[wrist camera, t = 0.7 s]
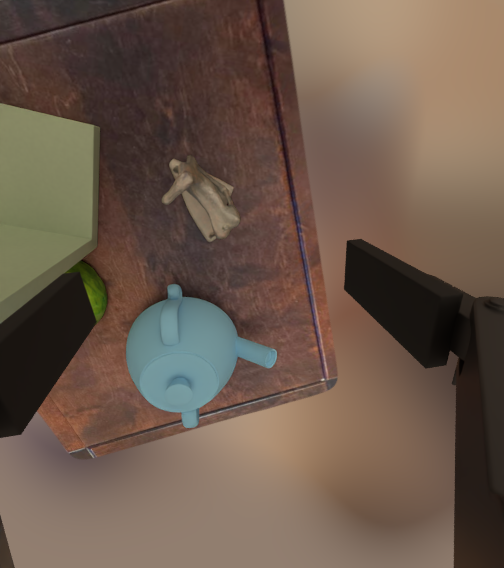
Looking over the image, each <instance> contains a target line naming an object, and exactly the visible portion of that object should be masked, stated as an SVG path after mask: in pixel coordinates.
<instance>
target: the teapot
mask: <svg viewBox="0 0 504 568" xmlns="http://www.w3.org/2000/svg"><path fill="white" fill-rule="evenodd" d="M167 290H168V299H166V300H163V301H160V302H158V303H156V304H154V305H152V306H150V307H149V308H147V309H146V310H144V311H143V312H142V313H141V314H140V315H139V316H138V317H137V318H136V320H135V321H134V323H133V325H132V327H131V329H130V332H129V335H128V338H127V346H126V361H127V365H128V369H129V373H130V375H131V378H132V380H133V382H134V383H135V385H136V387H137V388H138V390H139V391H140V393H141V394H142V395H143V397H144V398H145V399H146V400H147V401H148V402H150V403H151V404H152V405H154V406H155V407H157V408H159V409H162V410H165V411H170V412H181V413H182V422H183V425H184V427H186V428H193V427H196V426H197V425H198V423H199V408H200V407H202V406H203V405H205V404H206V403H208V402H209V401H210V400H212V399H213V398H214V397H215V396H216V395H217V394H218V393H219V392H220V391H221V390H222V388H223V387H224V386H225V385H226V383H227V382H228V380H229V379H230V377H231V375H232V373H233V371H234V368H235V365H236V362H237V358H238V357H241V358H243V359H246V360H248V361H251V362H254V363H256V364H259V365H261V366H264V367H266V368H271V367H272V366H273V365H274V363H275V361H276V358H277V352H276V350H275V349H272V348H269V347H266V346H263V345H260V344H258V343H255V342H252V341H249V340H246V339H243V338H240V337H238V335H237V331H236V328H235V326H234V324H233V322H232V320H231V319H230V318H229V316H228V315H227V314H226V313H225V312H224V311H222V310H221V309H220V308H219V307H217V306H216V305H214V304H212V303H210V302H208V301H205V300H202V299H198V298H192V297H182V290H181V287H180V286H179V285H177V284H171V285H169V286H168V287H167Z"/></svg>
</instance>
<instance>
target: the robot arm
mask: <svg viewBox="0 0 504 568" xmlns="http://www.w3.org/2000/svg"><path fill="white" fill-rule="evenodd" d="M346 250H347V251H346V266H345V285H344V290H345V291H346V292H347V293H348V294H350V295H351V296H352V297H353V298H354V299H355V300H356V301H357V302H358V303H359V304H360V305H361V306H362V307H363V308H364V309H365V310H366V311H367V312H368V313H369V314H370V315H371V316H372V317H373V318H374V319H375V320H376V321H377V322H378V323H379V324H380V325H381V326H383V328H384V329H386V330H387V331H388V332H389V333H390V334H391V335H392V336H393V337H394V338H395V339H396V340H397V341H398V342H399V343H400V344H401V345H402V346H403V347H404V348H405V349H406V350H407V351H408V352H409V353H410V354H411V355H412V356H413V357H414V358H415V359H416V360H417V361H419V363H420V364H421V365H423V366H424V367H425V368H432V367H438V366H444V365H446V364H447V360H448V356H449V352H450V350H451V351H452V352H453V353H454V354H456V355H457V356H458V357H459V358H458V362H457V366H456V370H455V374H454V377H453V381H452V384H453V385H456V433H455V434H456V435H455V437H456V439H455V511H454V512H455V513H454V516H455V517H454V568H504V298H499V297H479V298H475V297H473V296H471V295H469V294H467V293H465V292H463V291H461V290H460V289H458V288H456V287H452V285H450V284H448V283H446V282H445V283H444V281H442V280H440V279H439V278H437V277H435V276H432V275H429V274H426V273H424V272H422V271H420V270H418V269H416V268H414V267H412V266H411V265H408V264H407V263H405V262H403V261H401V260H399V259H398V258H396V257H394V256H392V255H390V254H388V253H386V252H384V251H383V250H380V249H379V248H377V247H375V246H373V245H371V244H369V243H368V242H366V241H364V240H362V239H357V240H349V241H347V248H346ZM96 323H97V321H96V318H95V315H94V312H93V309H92V306H91V303H90V300H89V297H88V294H87V291H86V288H85V286H84V283H83V280H82V277H81V274H80V272H73V273H64V274H62V275H60V276H59V277H58V278H57V279H55V280H54V281H53V282H52V283H50V284H49V285H48V286H47V287H45V288H44V289H43V290H42V291H40V292H39V293H38V294H37V295H35V296H34V297H33V298H32V299H30V300H29V301H28V302H27V303H26V304H24V305H23V306H22V307H21V308H19V309H18V310H17V311H16V312H14V313H13V314H12V315H11V316H9V317H8V318H7V319H6V320H4V321H3V322H2V323H1V324H0V438H3V437H9V436H15V435H21V434H22V432H23V431H24V429H25V428H26V426H27V425H28V423H29V422H30V420H31V419H32V417H33V416H34V414H35V413H36V411H37V410H38V408H39V407H40V406H41V404H42V403H43V401H44V400H45V398H46V397H47V395H48V394H49V392H50V391H51V389H52V388H53V386H54V385H55V383H56V382H57V380H58V379H59V377H60V376H61V374H62V373H63V371H64V370H65V369H66V367H67V366H68V364H69V363H70V361H71V360H72V358H73V357H74V355H75V354H76V352H77V351H78V349H79V348H80V346H81V345H82V343H83V342H84V340H85V339H86V337H87V336H88V334H89V333H90V332H91V330H92V329H93V327H94V326H95V324H96ZM0 568H15V567H14V564H13V560H12V557H11V553H10V549H9V546H8V542H7V538H6V535H5V531H4V527H3V524H2V520H1V516H0Z"/></svg>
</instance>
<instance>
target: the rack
mask: <svg viewBox="0 0 504 568" xmlns="http://www.w3.org/2000/svg"><path fill="white" fill-rule="evenodd" d="M99 153H100V127H98V126H94V125H90V124H86V123H82V122H77V121H73V120H69V119H65V118H61V117H56V116H52V115H48V114H44V113H40V112H35V111H31V110H27V109H23V108H19V107H14V106H10V105H6V104H2V103H0V324H1V323H2V322H3V321H4V320H6V319H7V318H8V317H9V316H11V315H12V314H13V313H14V312H16V311H17V310H18V309H19V308H21V307H22V306H23V305H24V304H26V303H27V302H28V301H29V300H30V299H32V298H33V297H34V296H35V295H37V294H38V293H39V292H40V291H42V290H43V289H44V288H45V287H47V286H48V285H49V284H50V283H52V282H53V281H54V280H55V279H57V278H58V277H59V276H60V275H62V274H64V273H65V272H66V271H68V270H69V269H70V268H71V267H73V266H74V265H75V264H76V263H78V262H79V261H80V260H81V259H83V258H84V257H85V256H86V255H88V254H89V253H90V252H92V251H93V250H94V249H95V248H97V239H98V195H99Z"/></svg>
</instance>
